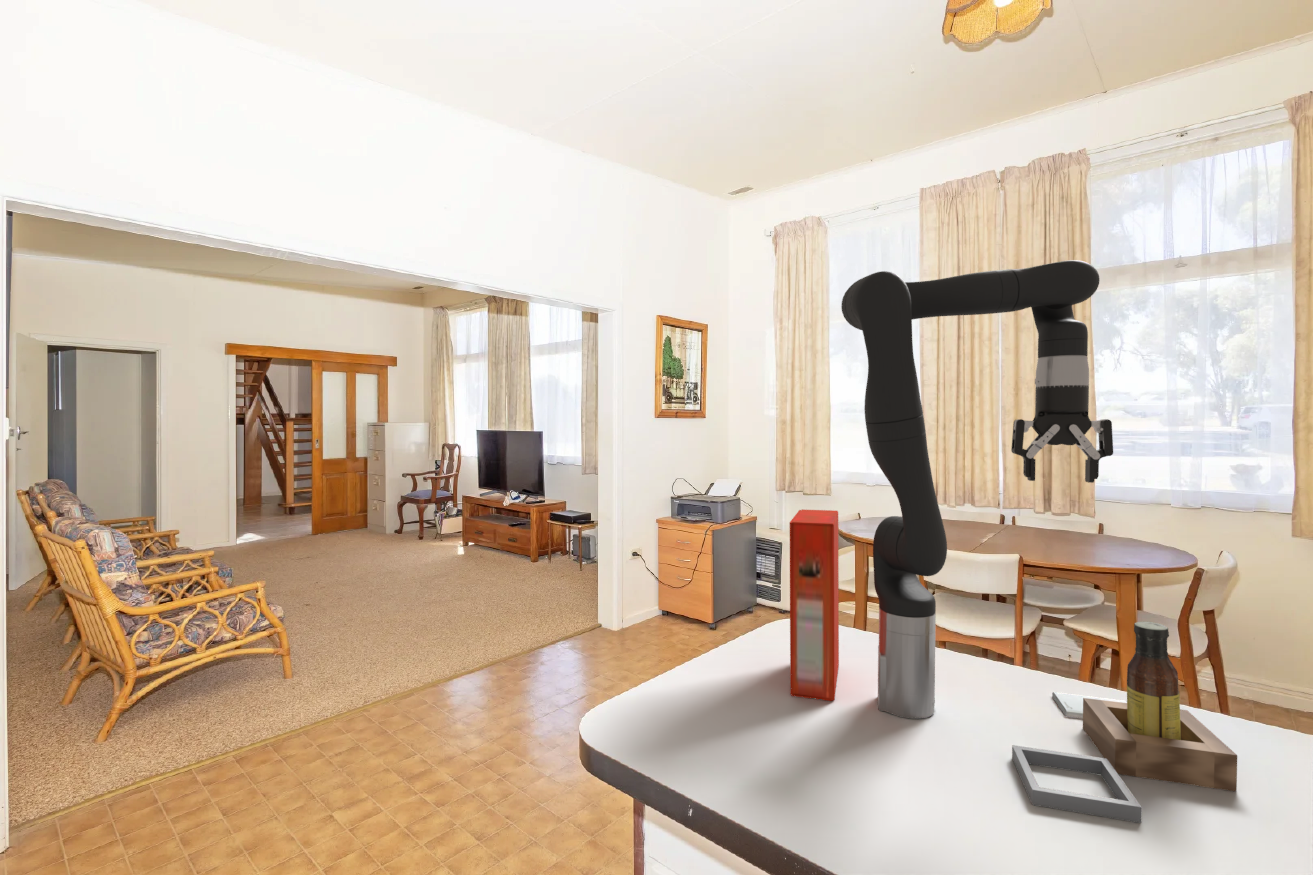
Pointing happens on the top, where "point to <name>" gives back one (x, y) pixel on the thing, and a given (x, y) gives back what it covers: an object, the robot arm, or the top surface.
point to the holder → (1160, 749)
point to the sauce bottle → (1152, 685)
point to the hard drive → (1074, 703)
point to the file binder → (814, 604)
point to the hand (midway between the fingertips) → (1060, 481)
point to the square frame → (1070, 801)
